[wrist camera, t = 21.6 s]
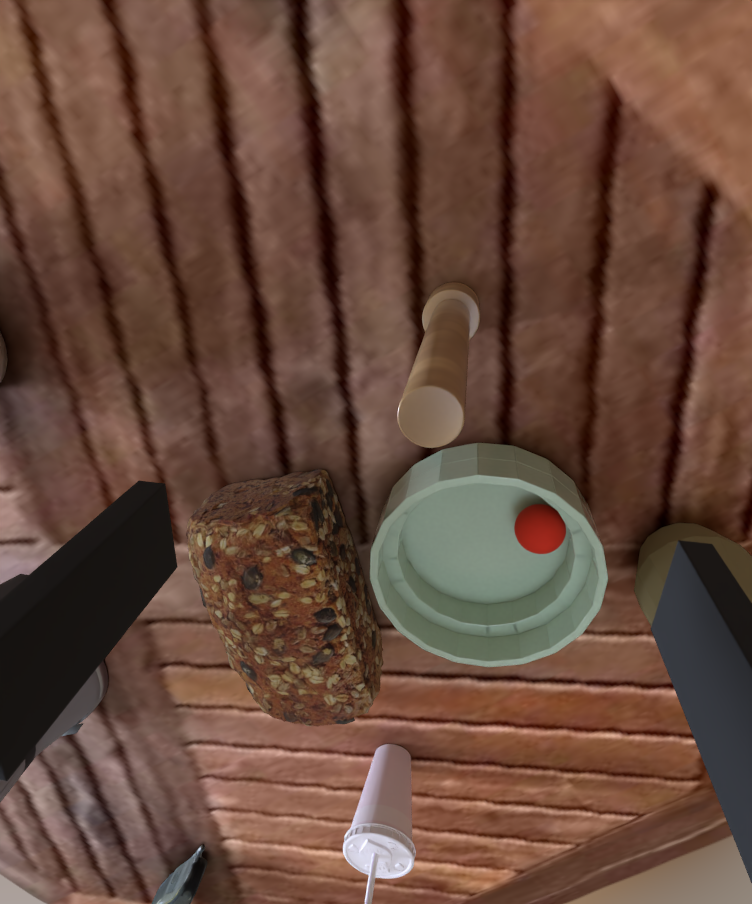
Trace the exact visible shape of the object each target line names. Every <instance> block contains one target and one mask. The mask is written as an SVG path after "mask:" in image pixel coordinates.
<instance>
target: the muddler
mask: <svg viewBox="0 0 752 904" xmlns="http://www.w3.org/2000/svg"><path fill="white" fill-rule="evenodd" d="M422 322H423V327H424V330H425V335H424V338H423V341H422V343H421V346H420V349H419V352H418V354H417V357H416V360H415V363H414V365H413V368H412V371H411V374H410V376H409V379H408V382H407V385H406V387H405V390H404V393H403V396H402V398H401V401H400V404H399V407H398V411H397V420H398V424H399V427H400V429H401V431H402V433H403V434H404V435H405V436H406V437H407V438H408V439H409V440H410V441H411V442H413V443H415V444H417V445H419V446H422V447H427V448H436V447H441V446H444V445H446V444H448V443H450V442H452V441H453V440H454V439H455V438H456V437H457V436H458V435H459V434H460V432H461V430H462V428H463V425H464V420H465V404H466V386H467V369H468V351H469V340H470V339H471V338H472V337H473V336H474V335H475V333H476V331H477V329H478V327H479V323H480V304H479V300H478V297H477V296H476V294H475V293H474V291H473V290H472V289H471V288H469V287H468V286H466V285H464V284H462V283H457V282H450V283H446V284H443V285H441V286H439V287H438V288H436V289H435V290H434V291H433V292H432V294H431V295H430V297H429V298H428V301H427V303H426V305H425V307H424V310H423V315H422Z"/></svg>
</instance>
